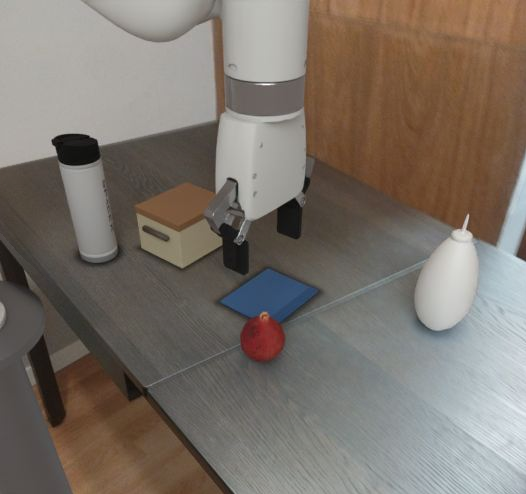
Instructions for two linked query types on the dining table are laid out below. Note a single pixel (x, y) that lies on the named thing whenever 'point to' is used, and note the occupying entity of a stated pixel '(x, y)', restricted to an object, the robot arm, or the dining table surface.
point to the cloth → (269, 296)
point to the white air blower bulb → (448, 281)
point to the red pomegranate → (262, 338)
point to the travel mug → (87, 196)
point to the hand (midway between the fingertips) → (263, 251)
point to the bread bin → (177, 225)
